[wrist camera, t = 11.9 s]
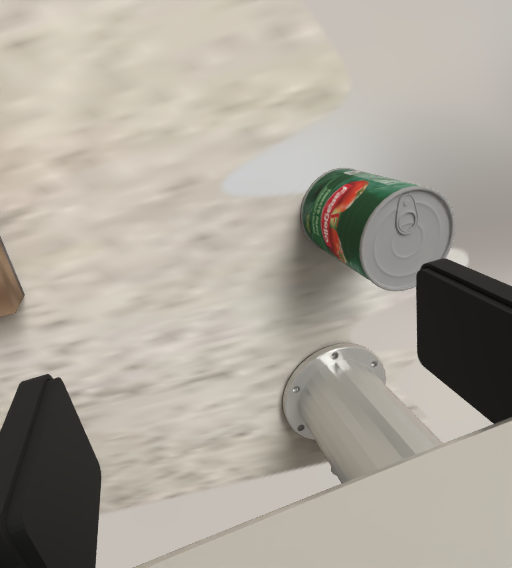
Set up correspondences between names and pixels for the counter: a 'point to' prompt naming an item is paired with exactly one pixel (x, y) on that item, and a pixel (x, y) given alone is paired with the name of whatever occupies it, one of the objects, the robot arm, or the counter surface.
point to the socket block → (8, 285)
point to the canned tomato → (378, 225)
